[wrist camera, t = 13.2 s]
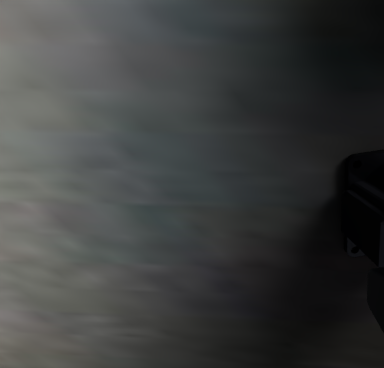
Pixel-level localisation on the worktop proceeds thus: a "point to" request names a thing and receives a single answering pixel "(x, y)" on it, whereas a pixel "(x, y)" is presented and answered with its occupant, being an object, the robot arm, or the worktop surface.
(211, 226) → the worktop surface
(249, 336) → the worktop surface
